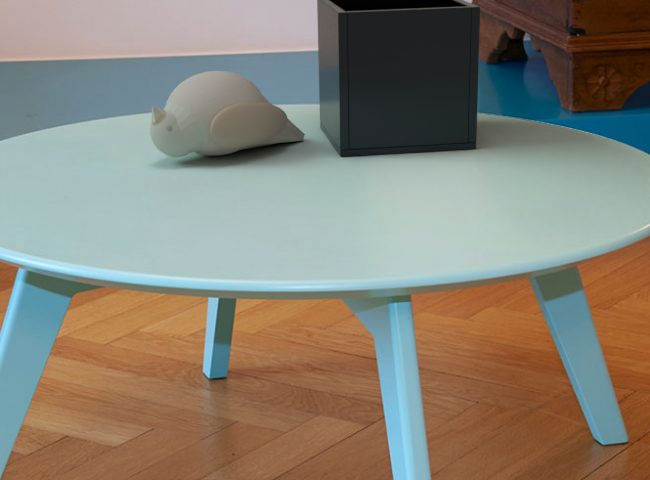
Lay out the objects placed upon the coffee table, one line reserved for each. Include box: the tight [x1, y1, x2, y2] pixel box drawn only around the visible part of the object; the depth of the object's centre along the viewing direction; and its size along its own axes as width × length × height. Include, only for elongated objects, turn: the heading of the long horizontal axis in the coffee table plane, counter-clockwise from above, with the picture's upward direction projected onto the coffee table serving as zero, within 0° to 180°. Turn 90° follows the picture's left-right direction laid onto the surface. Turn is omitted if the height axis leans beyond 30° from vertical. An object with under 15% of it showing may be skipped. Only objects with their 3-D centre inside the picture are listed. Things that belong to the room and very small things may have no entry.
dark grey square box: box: [316, 0, 481, 158], centre depth 106 cm, size 13×13×13 cm
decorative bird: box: [149, 70, 306, 158], centre depth 103 cm, size 9×16×8 cm, turn 134°
